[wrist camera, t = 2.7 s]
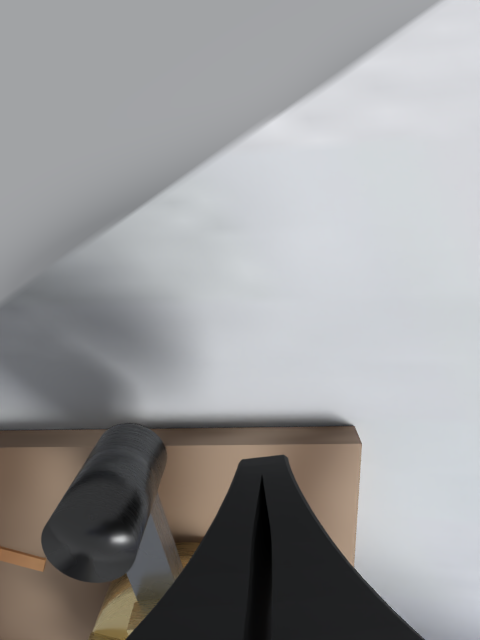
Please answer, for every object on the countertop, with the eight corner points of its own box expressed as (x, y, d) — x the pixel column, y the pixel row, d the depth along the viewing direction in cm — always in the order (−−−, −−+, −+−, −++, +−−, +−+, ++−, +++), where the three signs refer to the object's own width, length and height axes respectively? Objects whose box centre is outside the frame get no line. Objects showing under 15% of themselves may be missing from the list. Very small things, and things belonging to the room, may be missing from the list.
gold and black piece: (298, 662, 19) (311, 810, 14) (135, 679, 20) (100, 825, 15) (232, 394, 15) (221, 485, 10) (28, 430, 15) (-66, 529, 11)
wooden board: (354, 425, 16) (362, 445, 15) (341, 647, 20) (347, 676, 19) (-68, 431, 17) (-93, 450, 16) (-1, 642, 21) (-16, 670, 20)
